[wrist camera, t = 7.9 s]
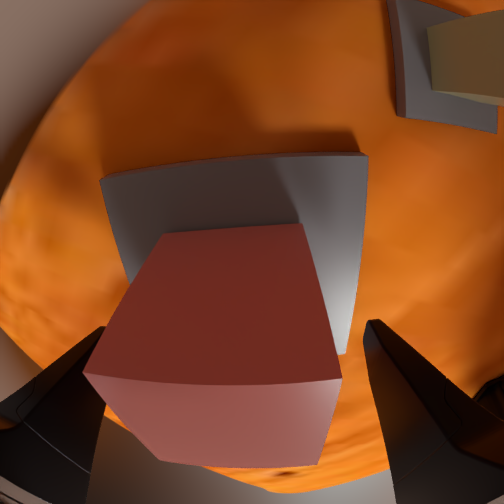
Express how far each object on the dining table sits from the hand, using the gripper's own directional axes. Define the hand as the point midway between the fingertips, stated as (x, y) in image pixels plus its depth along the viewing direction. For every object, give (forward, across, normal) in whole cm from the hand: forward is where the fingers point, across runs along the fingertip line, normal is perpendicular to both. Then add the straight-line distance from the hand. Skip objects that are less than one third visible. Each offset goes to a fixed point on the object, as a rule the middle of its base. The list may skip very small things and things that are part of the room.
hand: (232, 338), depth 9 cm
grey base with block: (+4, -9, -9) cm, 13 cm away
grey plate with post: (+4, 0, 0) cm, 4 cm away
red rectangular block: (+3, 0, 0) cm, 3 cm away
